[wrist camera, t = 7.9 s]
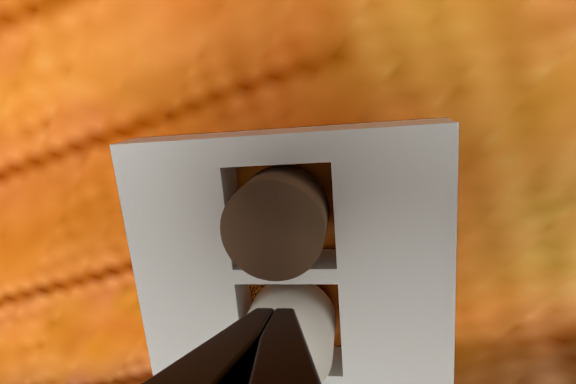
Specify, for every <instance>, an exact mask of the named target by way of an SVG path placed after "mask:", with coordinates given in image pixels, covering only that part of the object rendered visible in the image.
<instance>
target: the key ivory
mask: <svg viewBox="0 0 576 384" xmlns="http://www.w3.org/2000/svg"><path fill="white" fill-rule="evenodd" d="M256 308H273V309H274V310H275V309H277V308H292V309H294V310H295V313H296V316H297V318H298V321H299V324H300V326H301V329H302V332H303V335H304V337H305V340H306V343H307V345H308V348H309V351H310V354H311V356H312V359H313V362H314V364H315V367H316V370H317V373H318V375H319V378H320V381H321V383H322V382H323V381H324V380H325V379H326V378H327V376H328V374H329V372H330V369H331V366H332V360H333V348H334V337H335V325H336V314H335V310H334V306H333V304H332V302H331V300H330V299H329V297H328V296H327V295H326V293H325V292H324V291H323V290H322V289H320V288H319V287H318V286H316V285H315V284H266V285H265V286H264V287H263V288H262V289H261V290H260V291H259V292H258V293H257V295H256V297H255V298H254V301H253V303H252V305H251V307H250V309H249V311H248V313H250V312H251V311H253V310H254V309H256ZM248 313H247V314H248Z"/></svg>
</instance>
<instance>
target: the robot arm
mask: <svg viewBox="0 0 576 384" xmlns="http://www.w3.org/2000/svg"><path fill="white" fill-rule="evenodd" d="M142 384H322V383H321V381H320V378H319V375H318V373H317V370H316V367H315V364H314V362H313V359H312V356H311V354H310V351H309V348H308V345H307V343H306V340H305V337H304V335H303V332H302V329H301V326H300V324H299V321H298V318H297V316H296V313H295V310H294V309H292V308H277V309H275V310H274V309H273V308H256V309H254V310H253V311H251V312H250V313H248V314H247V315H245V316H244V317H242V318H240V319H239V320H237V321H236V322H234V323H233V324H231V325H230V326H228V327H227V328H225V329H224V330H222V331H221V332H219V333H218V334H216V335H215V336H213V337H212V338H210V339H209V340H207V341H206V342H204V343H203V344H201V345H200V346H198V347H197V348H195V349H193V350H192V351H190V352H189V353H187V354H186V355H184V356H183V357H181V358H180V359H178V360H177V361H175V362H174V363H172V364H171V365H169V366H168V367H166V368H165V369H163V370H162V371H160V372H159V373H157V374H156V375H154V376H152V377H151V378H149V379H148V380H146V381H145V382H143V383H142Z"/></svg>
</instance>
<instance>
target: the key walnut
mask: <svg viewBox="0 0 576 384" xmlns="http://www.w3.org/2000/svg"><path fill="white" fill-rule="evenodd" d="M328 221H329V202H328V199H327V196H326V193H325V191H324V190H323V188H322V186H321V185H320V184H319V182H318V181H317V180H316V179H315V178H314V177H312V176H311V175H310V174H308V173H307V172H305V171H303V170H301V169H298V168H295V167H291V166H273V167H269V168H267V169H264V170H262V171H260V172H258V173H257V174H256V175H254V176H253V177H252V178H251V179H250V180H249V181H248V182H247V183H246V184H244V185H243V186H242V187H241V188H240V189H239V190H238V191H237V192H236V193H235V194H234V195H233V196H232V197H231V198H230V199H229V201H228V202H227V204H226V206H225V207H224V210H223V212H222V215H221V220H220V235H221V240H222V243H223V246H224V248H225V250H226V252H227V254H228V256H229V257H230V258H231V260H232V261H233V262H234V263H235V264H236V265H237V266H238V267H239V268H240V269H242V270H243V271H244V272H246V273H247V274H249V275H251V276H253V277H256V278H259V279H262V280H267V281H285V280H290V279H293V278H296V277H298V276H300V275H302V274H303V273H305V272H306V271H308V270H309V269H310V268H311V267H312V266H313V265H314V264H315V262H316V261H317V259H318V258H319V256H320V254H321V252H322V249H323V245H324V241H325V236H326V231H327V226H328Z"/></svg>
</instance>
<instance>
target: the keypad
mask: <svg viewBox="0 0 576 384" xmlns="http://www.w3.org/2000/svg"><path fill="white" fill-rule="evenodd" d="M110 150H111V156H112V161H113V166H114V171H115V177H116V182H117V187H118V193H119V198H120V203H121V209H122V214H123V219H124V224H125V230H126V235H127V240H128V246H129V251H130V256H131V262H132V267H133V272H134V277H135V283H136V288H137V293H138V299H139V304H140V309H141V315H142V320H143V325H144V330H145V336H146V341H147V346H148V352H149V357H150V362H151V368H152V373H153V376H154V375H156V374H157V373H159V372H160V371H162V370H163V369H165V368H166V367H168V366H169V365H171V364H172V363H174V362H175V361H177V360H178V359H180V358H181V357H183V356H184V355H186V354H187V353H189V352H190V351H192V350H193V349H195V348H197V347H198V346H200V345H201V344H203V343H204V342H206V341H207V340H209V339H210V338H212V337H213V336H215V335H216V334H218V333H219V332H221V331H222V330H224V329H225V328H227V327H228V326H230V325H231V324H233V323H234V322H236V321H237V320H239V319H240V318H242V317H244V316H245V315H247V313H248V311H249V309H250V307H251V305H252V304H251V295H250V287H249V284H338V295H339V312H340V330H341V347H335V346H334V348H333V360H332V366H331V369H330V372H329V374H328V376H327V378H326V379H325V380H324V381H323V382H322V384H454V351H455V302H456V253H457V204H458V155H459V122H457V121H454V120H452V119H450V118H447V117H444V118H429V119H414V120H399V121H384V122H369V123H354V124H339V125H323V126H308V127H293V128H278V129H263V130H248V131H233V132H218V133H203V134H188V135H173V136H158V137H143V138H134V139H130V140H126V141H122V142H118V143H115V144H111V145H110ZM324 162H331V171H332V189H333V207H334V224H335V242H336V249H322V252H321V254H320V256H319V258H318V259H317V261H316V262H315V264H314V265H313V266H312V267H311V268H310V269H309V270H308V271H306V272H305V273H303V274H302V275H300V276H298V277H296V278H293V279H290V280H285V281H267V280H262V279H259V278H256V277H253V276H251V275H249V274H247V273H246V272H244V271H243V270H242V269H240V268H239V267H238V266H237V265H236V264H235V263H234V262H233V261H232V260H231V258H230V257H229V256H228V254H227V252H226V250H225V248H224V246H223V243H222V240H221V235H220V220H221V215H222V212H223V210H224V207H225V206H226V204H227V202H228V201H229V199H230V198H231V197H232V196H233V195H234V194H235V193H236V192H237V191H238V182H237V173H236V167H245V166H265V165H284V164H304V163H324Z"/></svg>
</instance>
